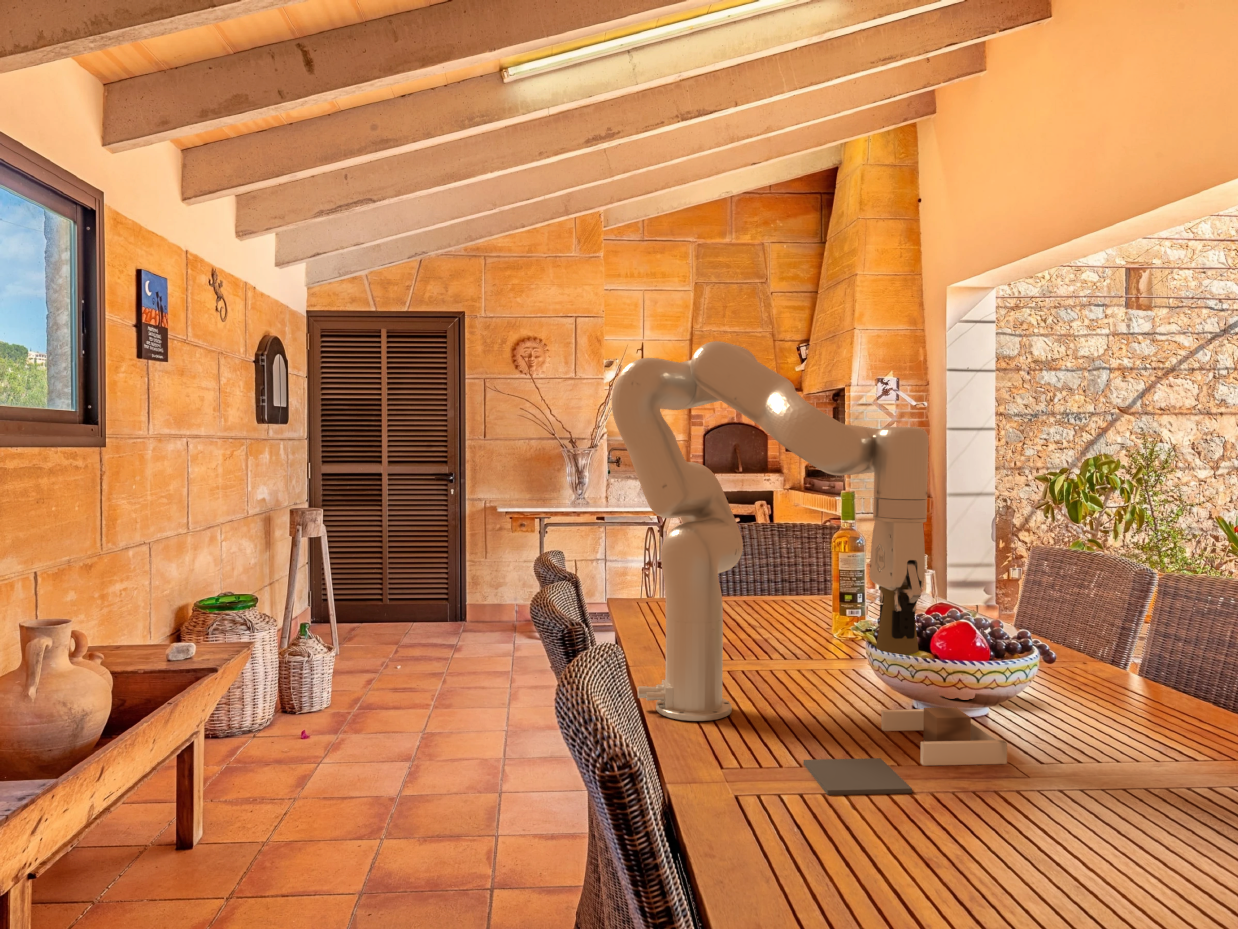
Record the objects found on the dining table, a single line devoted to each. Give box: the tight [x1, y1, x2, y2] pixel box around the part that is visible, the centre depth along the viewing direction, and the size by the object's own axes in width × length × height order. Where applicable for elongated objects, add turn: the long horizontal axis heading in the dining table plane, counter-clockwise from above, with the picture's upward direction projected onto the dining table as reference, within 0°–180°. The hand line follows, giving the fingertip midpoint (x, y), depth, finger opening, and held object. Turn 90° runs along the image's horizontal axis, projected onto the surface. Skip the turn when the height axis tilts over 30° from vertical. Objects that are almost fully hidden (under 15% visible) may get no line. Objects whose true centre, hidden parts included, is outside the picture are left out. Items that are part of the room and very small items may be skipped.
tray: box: [880, 708, 1008, 766], centre depth 131 cm, size 12×16×3 cm
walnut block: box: [922, 706, 972, 742], centre depth 131 cm, size 5×5×5 cm
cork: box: [875, 585, 919, 655], centre depth 130 cm, size 6×6×11 cm
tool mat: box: [803, 757, 913, 796], centre depth 118 cm, size 11×11×1 cm
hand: (896, 633), depth 130 cm, fingers closed on cork, 4 cm apart
